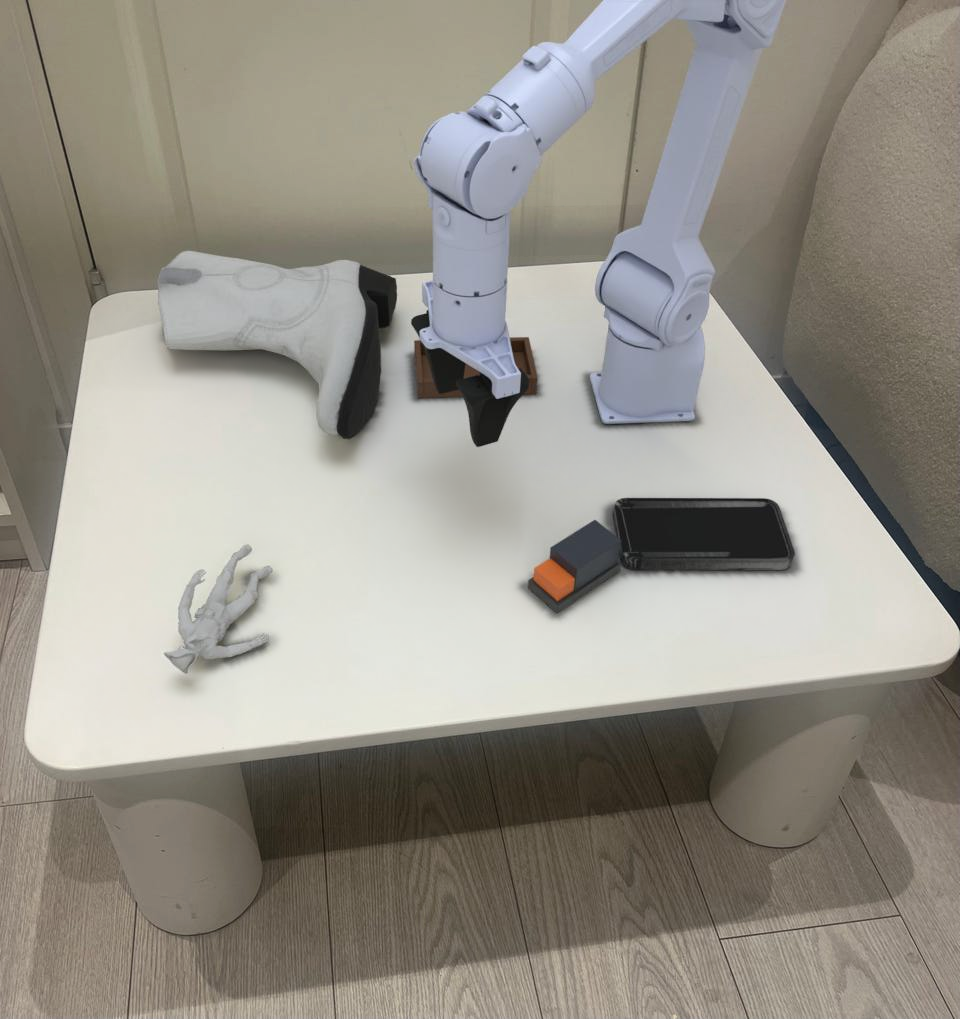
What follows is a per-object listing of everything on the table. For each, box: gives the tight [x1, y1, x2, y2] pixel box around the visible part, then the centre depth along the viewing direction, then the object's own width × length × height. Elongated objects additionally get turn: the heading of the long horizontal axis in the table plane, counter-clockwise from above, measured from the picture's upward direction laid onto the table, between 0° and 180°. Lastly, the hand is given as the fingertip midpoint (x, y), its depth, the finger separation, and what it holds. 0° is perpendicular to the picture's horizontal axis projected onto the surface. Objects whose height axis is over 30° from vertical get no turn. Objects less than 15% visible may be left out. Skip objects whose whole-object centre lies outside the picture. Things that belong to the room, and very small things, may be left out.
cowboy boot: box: [157, 250, 398, 441], centre depth 103 cm, size 10×28×25 cm
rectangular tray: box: [413, 336, 539, 399], centre depth 105 cm, size 12×7×2 cm, turn 95°
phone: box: [612, 497, 796, 571], centre depth 90 cm, size 8×1×15 cm
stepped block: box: [527, 519, 622, 614], centre depth 85 cm, size 8×4×4 cm, turn 130°
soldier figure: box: [163, 543, 274, 675], centre depth 80 cm, size 8×5×12 cm
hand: (466, 415), depth 87 cm, fingers open, 7 cm apart
